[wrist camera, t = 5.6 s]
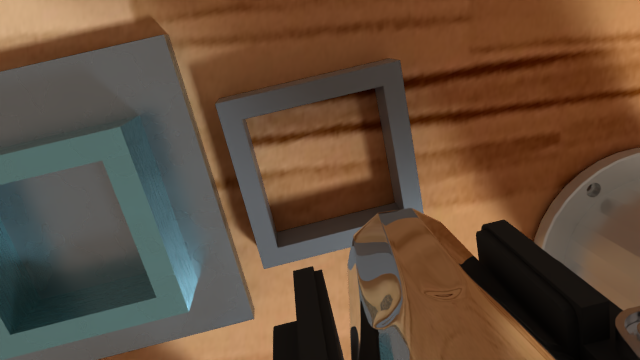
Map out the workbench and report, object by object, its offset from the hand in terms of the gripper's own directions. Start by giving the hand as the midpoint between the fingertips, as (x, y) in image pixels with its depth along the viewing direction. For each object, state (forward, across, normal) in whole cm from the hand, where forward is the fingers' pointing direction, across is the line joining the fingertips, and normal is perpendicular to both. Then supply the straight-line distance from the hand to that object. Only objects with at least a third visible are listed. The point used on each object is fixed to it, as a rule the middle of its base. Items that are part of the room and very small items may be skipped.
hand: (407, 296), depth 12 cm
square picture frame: (+13, +1, 0) cm, 13 cm away
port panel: (+13, +14, 0) cm, 19 cm away
